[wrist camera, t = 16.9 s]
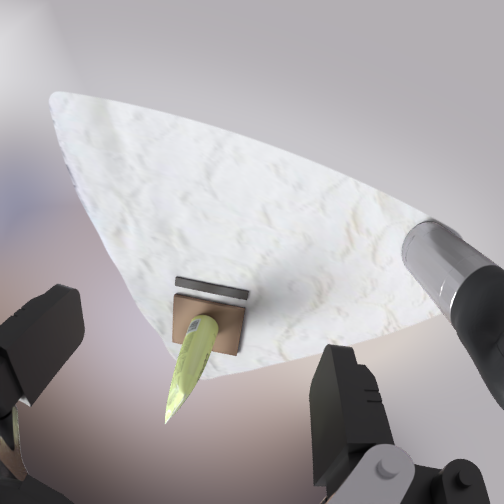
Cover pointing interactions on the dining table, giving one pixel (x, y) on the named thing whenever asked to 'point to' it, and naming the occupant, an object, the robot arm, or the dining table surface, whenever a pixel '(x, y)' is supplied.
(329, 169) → the dining table surface
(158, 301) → the dining table surface
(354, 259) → the dining table surface
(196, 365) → the tube
